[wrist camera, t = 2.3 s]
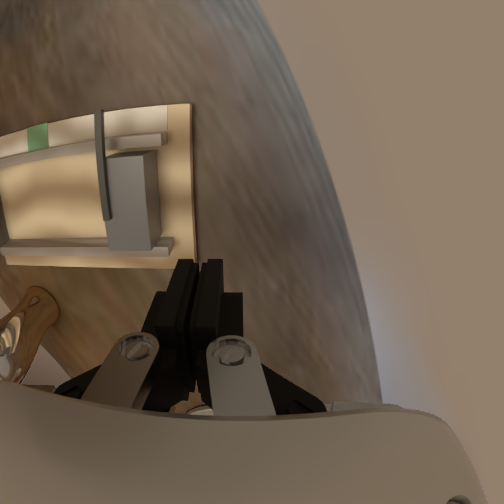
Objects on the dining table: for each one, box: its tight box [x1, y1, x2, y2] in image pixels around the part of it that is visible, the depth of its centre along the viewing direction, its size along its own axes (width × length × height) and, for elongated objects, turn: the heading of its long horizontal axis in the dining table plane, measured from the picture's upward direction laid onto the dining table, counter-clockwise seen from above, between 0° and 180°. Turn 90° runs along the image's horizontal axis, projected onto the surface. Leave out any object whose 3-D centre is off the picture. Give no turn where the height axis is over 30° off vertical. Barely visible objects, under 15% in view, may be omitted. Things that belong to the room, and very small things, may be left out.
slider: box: [94, 110, 162, 251], centre depth 23 cm, size 12×4×5 cm, turn 179°
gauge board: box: [0, 104, 197, 269], centre depth 25 cm, size 16×26×6 cm, turn 89°
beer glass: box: [0, 287, 60, 384], centre depth 27 cm, size 7×7×15 cm
